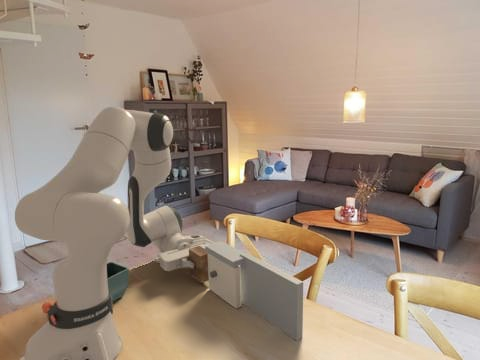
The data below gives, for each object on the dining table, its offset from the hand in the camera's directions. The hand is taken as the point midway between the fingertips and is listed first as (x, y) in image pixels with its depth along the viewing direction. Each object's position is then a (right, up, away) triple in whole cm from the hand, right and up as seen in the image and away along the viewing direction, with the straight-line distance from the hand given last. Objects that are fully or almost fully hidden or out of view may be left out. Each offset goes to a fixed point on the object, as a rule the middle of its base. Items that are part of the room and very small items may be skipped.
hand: (201, 263), depth 117 cm
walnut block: (0, -5, +2) cm, 5 cm away
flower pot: (-27, -9, -6) cm, 29 cm away
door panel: (+7, -8, -8) cm, 13 cm away
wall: (+15, -10, -14) cm, 23 cm away
